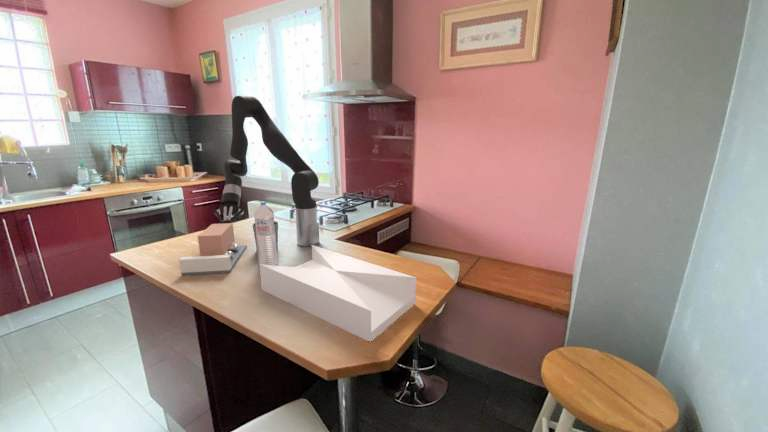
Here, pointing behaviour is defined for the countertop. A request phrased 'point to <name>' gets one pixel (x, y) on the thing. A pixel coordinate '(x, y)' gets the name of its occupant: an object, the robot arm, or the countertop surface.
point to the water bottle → (265, 235)
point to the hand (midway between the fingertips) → (226, 229)
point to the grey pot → (275, 233)
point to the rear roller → (233, 247)
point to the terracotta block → (216, 239)
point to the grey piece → (210, 263)
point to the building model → (343, 291)
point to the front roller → (226, 253)
